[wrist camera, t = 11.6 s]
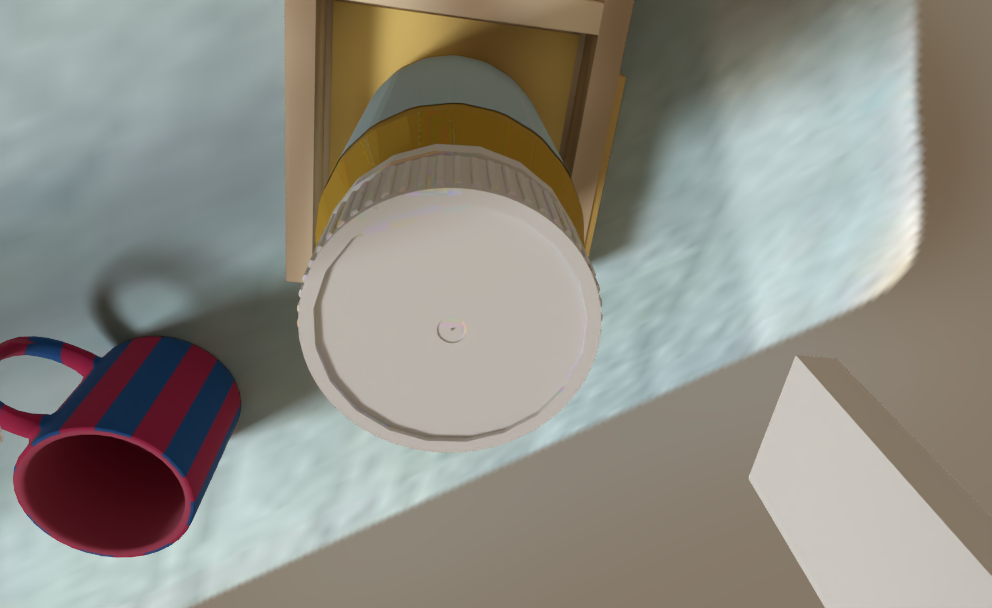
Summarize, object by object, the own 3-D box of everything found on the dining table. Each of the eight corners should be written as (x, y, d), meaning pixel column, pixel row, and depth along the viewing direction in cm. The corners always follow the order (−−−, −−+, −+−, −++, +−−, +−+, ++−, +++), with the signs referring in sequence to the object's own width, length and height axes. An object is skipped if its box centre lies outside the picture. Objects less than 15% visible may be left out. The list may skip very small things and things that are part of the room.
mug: (174, 472, 35) (116, 581, 29) (2, 337, 31) (-108, 431, 25) (271, 405, 33) (230, 506, 27) (103, 254, 29) (13, 333, 23)
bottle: (573, 113, 27) (695, 273, 13) (482, 256, 29) (508, 511, 16) (415, 13, 25) (373, 86, 12) (332, 176, 27) (219, 390, 14)
